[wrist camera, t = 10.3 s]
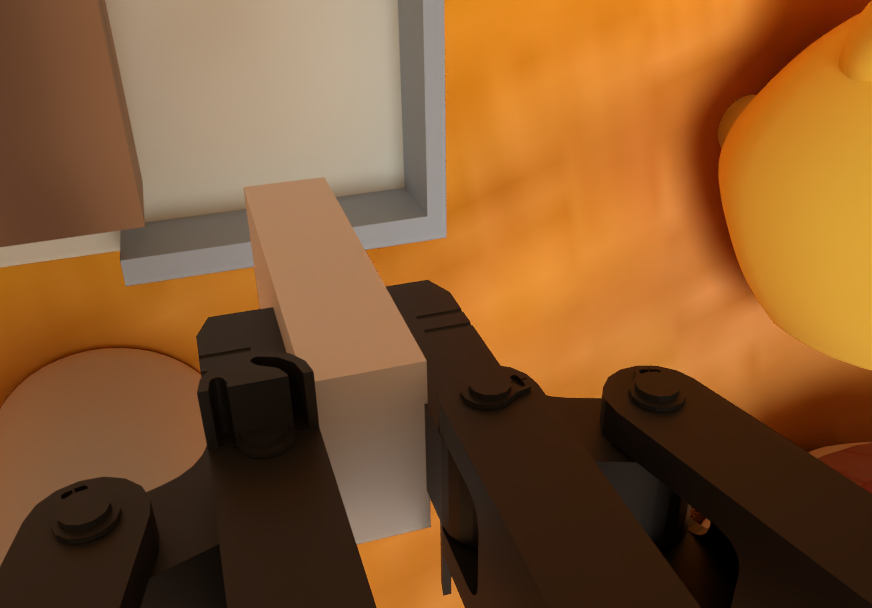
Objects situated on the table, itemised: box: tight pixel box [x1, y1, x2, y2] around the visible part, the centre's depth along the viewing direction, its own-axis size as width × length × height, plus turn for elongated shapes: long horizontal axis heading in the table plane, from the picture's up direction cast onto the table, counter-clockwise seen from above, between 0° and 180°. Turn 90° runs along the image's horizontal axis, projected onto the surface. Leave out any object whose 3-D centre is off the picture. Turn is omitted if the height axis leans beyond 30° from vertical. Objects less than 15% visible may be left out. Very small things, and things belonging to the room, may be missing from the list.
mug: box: [0, 348, 207, 566], centre depth 28 cm, size 12×8×11 cm
